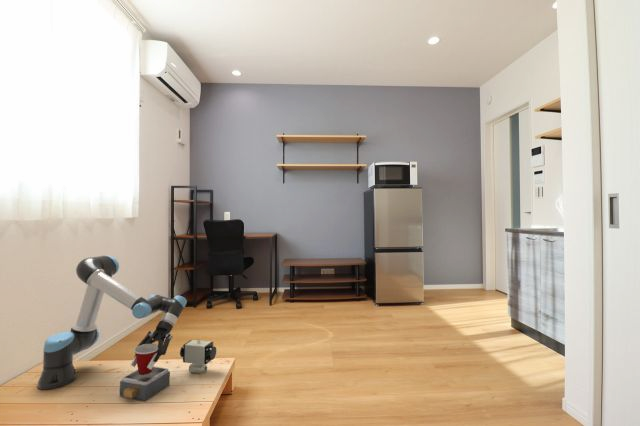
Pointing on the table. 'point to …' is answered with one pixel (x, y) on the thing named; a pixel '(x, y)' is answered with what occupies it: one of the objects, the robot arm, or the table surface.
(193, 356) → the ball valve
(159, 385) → the square tray with tab
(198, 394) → the table surface
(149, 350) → the plastic cup
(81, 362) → the table surface
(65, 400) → the table surface
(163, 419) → the table surface
